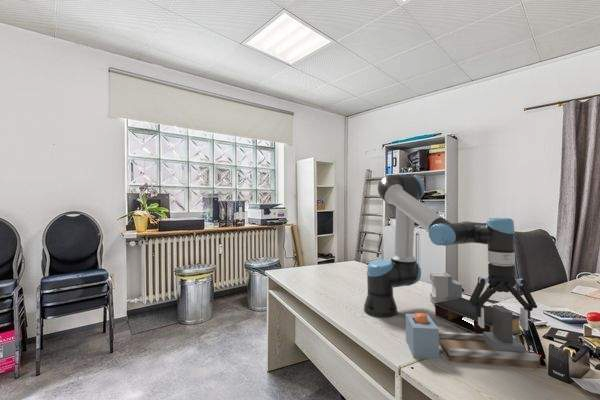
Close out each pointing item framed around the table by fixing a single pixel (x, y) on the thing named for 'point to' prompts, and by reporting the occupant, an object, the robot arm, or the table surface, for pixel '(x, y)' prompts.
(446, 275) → the circuit breaker
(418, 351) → the end cabinet
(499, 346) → the carriage
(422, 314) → the button
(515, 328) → the book
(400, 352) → the table surface
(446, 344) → the rail board
